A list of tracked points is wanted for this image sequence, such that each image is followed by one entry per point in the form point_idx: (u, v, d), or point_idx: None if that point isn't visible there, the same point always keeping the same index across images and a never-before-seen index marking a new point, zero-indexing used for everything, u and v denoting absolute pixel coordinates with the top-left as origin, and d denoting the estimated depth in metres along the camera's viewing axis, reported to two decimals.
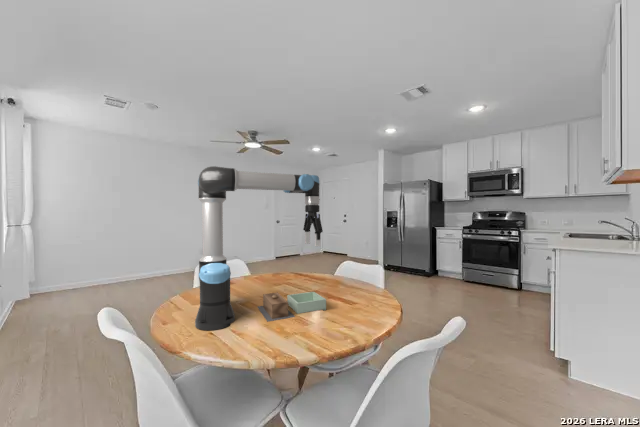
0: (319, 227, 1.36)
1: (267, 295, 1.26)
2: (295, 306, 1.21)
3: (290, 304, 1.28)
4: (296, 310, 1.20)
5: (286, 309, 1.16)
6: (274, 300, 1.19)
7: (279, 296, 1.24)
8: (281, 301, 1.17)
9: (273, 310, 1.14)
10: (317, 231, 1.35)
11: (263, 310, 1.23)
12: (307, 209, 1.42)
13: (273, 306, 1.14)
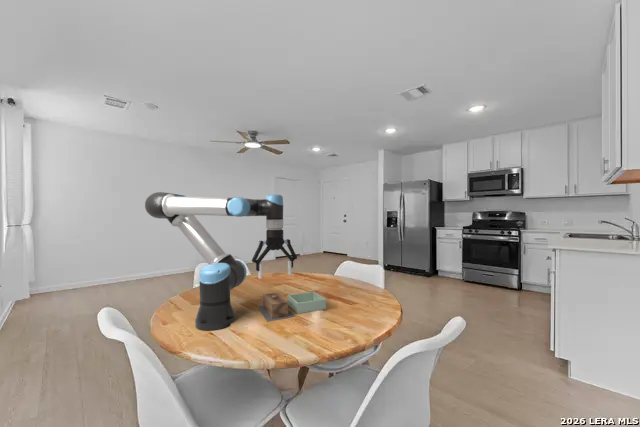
0: (254, 256, 1.18)
1: (267, 295, 1.26)
2: (295, 306, 1.21)
3: (290, 304, 1.28)
4: (296, 310, 1.20)
5: (286, 309, 1.16)
6: (274, 300, 1.19)
7: (279, 296, 1.24)
8: (281, 301, 1.17)
9: (273, 310, 1.14)
10: None
11: (263, 310, 1.23)
12: None
13: (273, 306, 1.14)
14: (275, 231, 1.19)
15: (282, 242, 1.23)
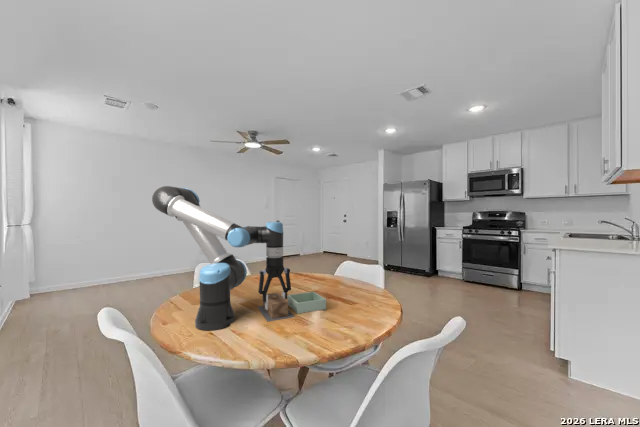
0: (259, 288, 1.19)
1: None
2: (295, 306, 1.21)
3: (290, 304, 1.28)
4: (296, 310, 1.20)
5: (286, 309, 1.16)
6: (274, 300, 1.19)
7: (279, 296, 1.24)
8: (281, 301, 1.17)
9: (273, 310, 1.14)
10: None
11: (263, 310, 1.23)
12: None
13: (273, 306, 1.14)
14: (275, 259, 1.19)
15: (282, 269, 1.23)
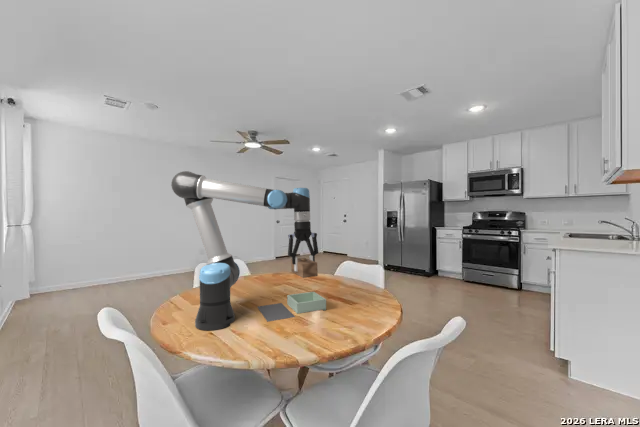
0: (288, 250, 1.25)
1: None
2: (295, 306, 1.21)
3: (290, 304, 1.28)
4: (296, 310, 1.20)
5: (315, 269, 1.21)
6: (304, 262, 1.24)
7: (307, 259, 1.30)
8: (310, 262, 1.23)
9: (303, 270, 1.19)
10: None
11: (263, 310, 1.23)
12: None
13: (303, 266, 1.19)
14: (303, 223, 1.24)
15: (309, 233, 1.28)
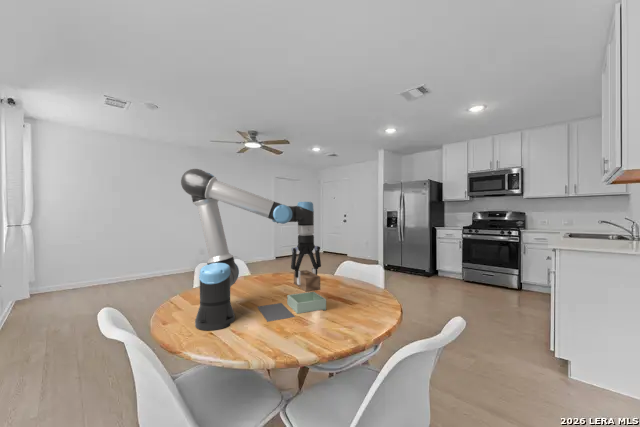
0: (292, 264, 1.26)
1: None
2: (295, 306, 1.21)
3: (290, 304, 1.28)
4: (296, 310, 1.20)
5: (318, 283, 1.22)
6: (307, 275, 1.25)
7: (310, 272, 1.31)
8: (313, 276, 1.24)
9: (307, 284, 1.20)
10: None
11: (263, 310, 1.23)
12: None
13: (307, 280, 1.20)
14: (307, 236, 1.25)
15: (313, 247, 1.29)
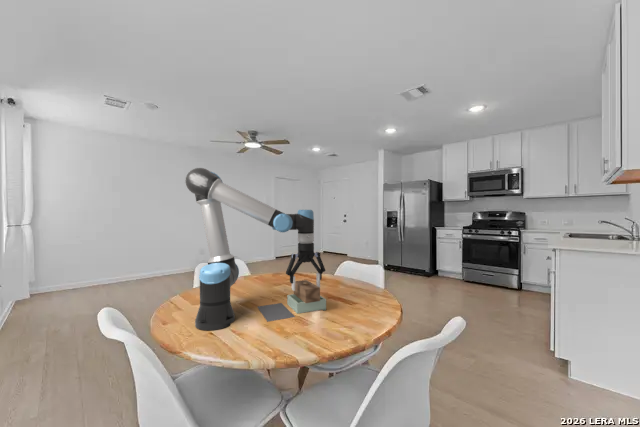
0: (287, 269, 1.25)
1: (297, 282, 1.32)
2: (295, 306, 1.21)
3: (290, 304, 1.28)
4: (296, 310, 1.20)
5: (318, 294, 1.22)
6: (306, 286, 1.25)
7: (309, 283, 1.31)
8: (313, 287, 1.24)
9: (306, 295, 1.20)
10: None
11: (263, 310, 1.23)
12: None
13: (306, 291, 1.20)
14: (307, 244, 1.25)
15: (313, 255, 1.29)
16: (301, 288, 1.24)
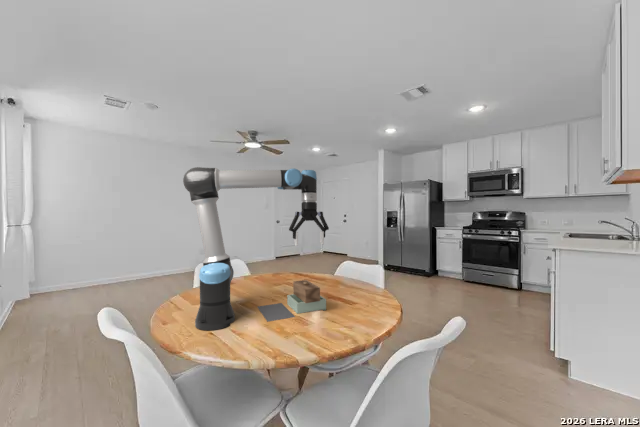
0: (291, 225, 1.31)
1: (297, 282, 1.32)
2: (295, 306, 1.21)
3: (290, 304, 1.28)
4: (296, 310, 1.20)
5: (318, 294, 1.22)
6: (306, 286, 1.25)
7: (309, 283, 1.31)
8: (313, 287, 1.24)
9: (306, 295, 1.20)
10: None
11: (263, 310, 1.23)
12: None
13: (306, 291, 1.20)
14: (310, 203, 1.31)
15: (316, 213, 1.35)
16: (301, 288, 1.24)
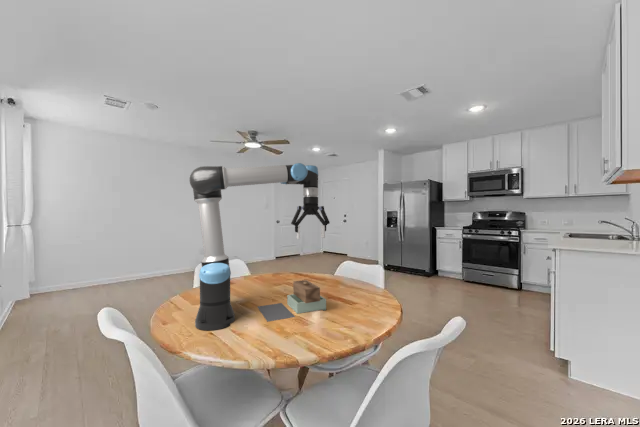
0: (293, 219, 1.35)
1: (297, 282, 1.32)
2: (295, 306, 1.21)
3: (290, 304, 1.28)
4: (296, 310, 1.20)
5: (318, 294, 1.22)
6: (306, 286, 1.25)
7: (309, 283, 1.31)
8: (313, 287, 1.24)
9: (306, 295, 1.20)
10: (292, 223, 1.36)
11: (263, 310, 1.23)
12: None
13: (306, 291, 1.20)
14: (312, 197, 1.35)
15: (317, 208, 1.39)
16: (301, 288, 1.24)
